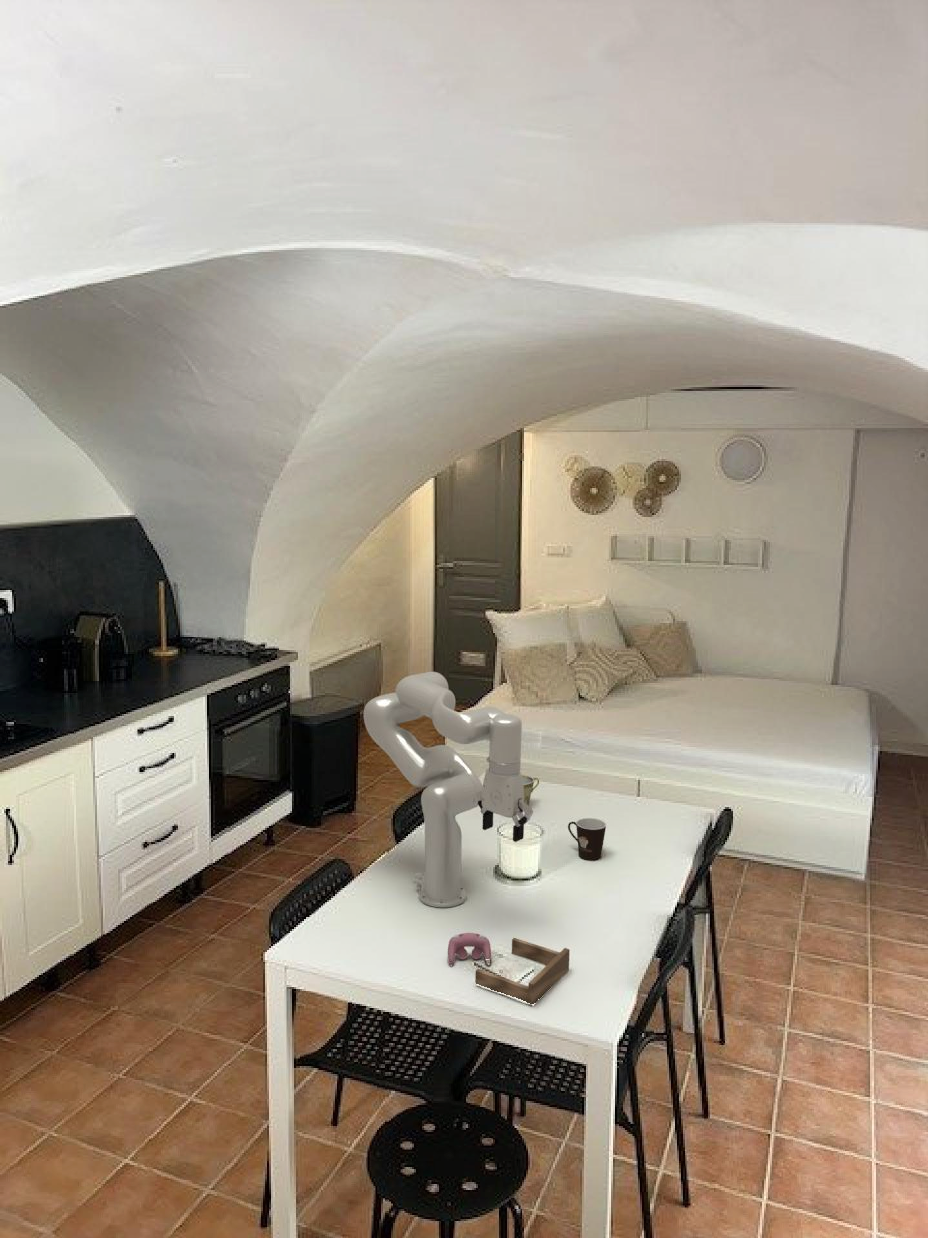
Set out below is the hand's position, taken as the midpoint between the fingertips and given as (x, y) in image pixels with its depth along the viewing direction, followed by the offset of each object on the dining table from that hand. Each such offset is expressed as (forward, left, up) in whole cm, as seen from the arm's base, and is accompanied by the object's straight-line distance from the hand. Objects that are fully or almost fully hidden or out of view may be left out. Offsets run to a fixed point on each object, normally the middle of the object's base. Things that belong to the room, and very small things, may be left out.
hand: (502, 834), depth 221 cm
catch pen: (+16, -17, -24) cm, 33 cm away
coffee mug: (0, +51, -24) cm, 56 cm away
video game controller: (+2, -18, -24) cm, 30 cm away
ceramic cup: (-34, +73, -24) cm, 84 cm away
